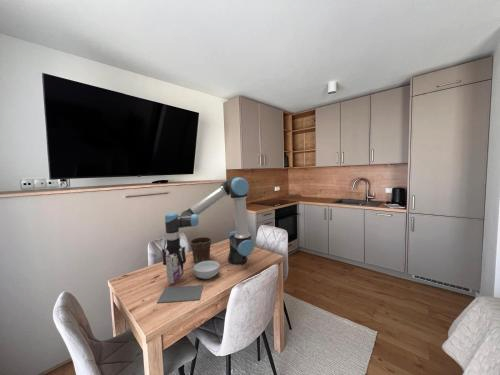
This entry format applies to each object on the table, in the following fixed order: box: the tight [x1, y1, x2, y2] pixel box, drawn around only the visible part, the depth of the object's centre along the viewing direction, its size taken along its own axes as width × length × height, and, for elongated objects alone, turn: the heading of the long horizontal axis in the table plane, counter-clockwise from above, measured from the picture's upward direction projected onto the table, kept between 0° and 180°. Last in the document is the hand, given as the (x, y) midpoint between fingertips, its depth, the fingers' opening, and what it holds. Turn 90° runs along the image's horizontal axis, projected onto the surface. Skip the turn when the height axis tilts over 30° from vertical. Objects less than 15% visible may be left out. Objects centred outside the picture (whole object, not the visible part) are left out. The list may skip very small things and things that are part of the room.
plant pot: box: [189, 236, 212, 264], centre depth 159 cm, size 16×16×16 cm
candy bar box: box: [165, 249, 185, 284], centre depth 127 cm, size 11×5×16 cm, turn 169°
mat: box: [156, 284, 204, 304], centre depth 115 cm, size 22×14×1 cm, turn 96°
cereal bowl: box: [193, 260, 220, 280], centre depth 135 cm, size 17×17×7 cm
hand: (175, 274), depth 127 cm, fingers closed on candy bar box, 6 cm apart
